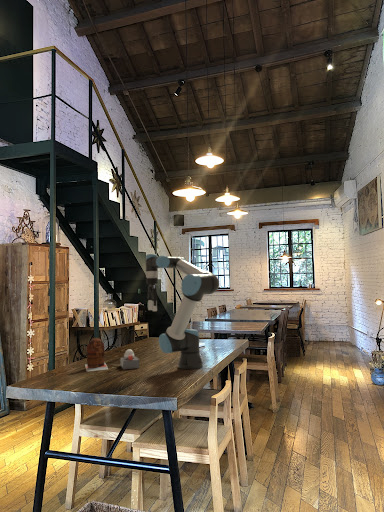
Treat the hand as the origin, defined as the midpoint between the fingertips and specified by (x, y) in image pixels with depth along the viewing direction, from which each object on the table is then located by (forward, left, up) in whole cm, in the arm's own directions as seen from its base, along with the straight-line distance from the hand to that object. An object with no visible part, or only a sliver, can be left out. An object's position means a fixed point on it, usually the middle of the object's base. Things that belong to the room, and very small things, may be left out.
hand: (152, 310), depth 245 cm
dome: (+4, +15, -29) cm, 33 cm away
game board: (+11, +35, -35) cm, 50 cm away
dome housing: (+2, +15, -35) cm, 38 cm away
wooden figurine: (+11, +35, -35) cm, 50 cm away
